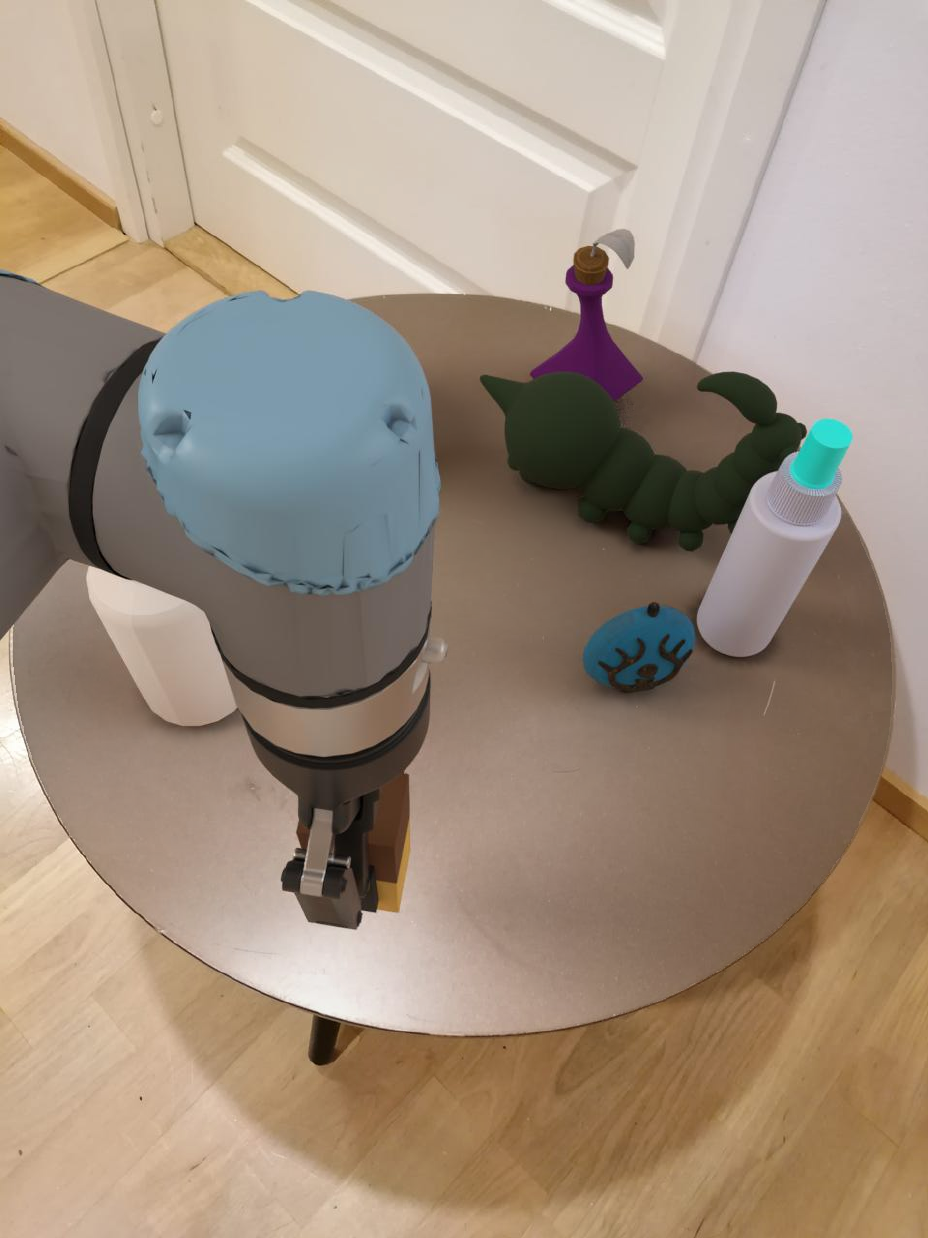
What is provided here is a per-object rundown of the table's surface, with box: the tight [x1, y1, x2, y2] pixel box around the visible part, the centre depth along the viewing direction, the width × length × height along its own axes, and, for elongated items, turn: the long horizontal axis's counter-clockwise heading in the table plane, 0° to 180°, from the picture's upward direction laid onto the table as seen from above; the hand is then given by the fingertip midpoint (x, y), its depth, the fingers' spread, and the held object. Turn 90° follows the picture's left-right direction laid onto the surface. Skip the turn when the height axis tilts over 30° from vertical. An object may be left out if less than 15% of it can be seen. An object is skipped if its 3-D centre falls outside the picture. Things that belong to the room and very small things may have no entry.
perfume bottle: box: [529, 228, 644, 403], centre depth 80 cm, size 8×8×18 cm
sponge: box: [295, 772, 411, 914], centre depth 52 cm, size 4×5×12 cm
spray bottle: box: [696, 418, 854, 658], centre depth 66 cm, size 6×6×22 cm
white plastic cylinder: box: [85, 565, 238, 727], centre depth 63 cm, size 8×8×18 cm
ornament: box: [582, 601, 696, 694], centre depth 68 cm, size 8×5×10 cm, turn 100°
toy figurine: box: [479, 371, 808, 553], centre depth 74 cm, size 9×19×25 cm
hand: (362, 863), depth 56 cm, fingers closed on sponge, 4 cm apart
